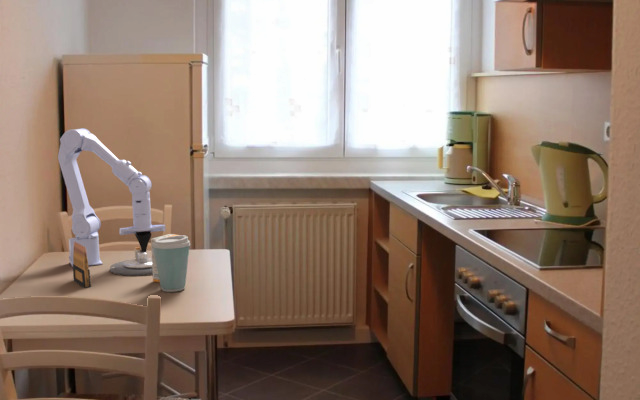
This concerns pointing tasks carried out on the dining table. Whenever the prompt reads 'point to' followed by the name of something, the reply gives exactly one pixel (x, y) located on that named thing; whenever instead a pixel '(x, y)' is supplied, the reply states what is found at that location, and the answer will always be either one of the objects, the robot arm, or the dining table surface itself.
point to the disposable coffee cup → (172, 261)
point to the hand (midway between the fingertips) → (143, 254)
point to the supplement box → (154, 266)
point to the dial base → (129, 270)
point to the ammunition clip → (81, 266)
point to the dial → (139, 260)
